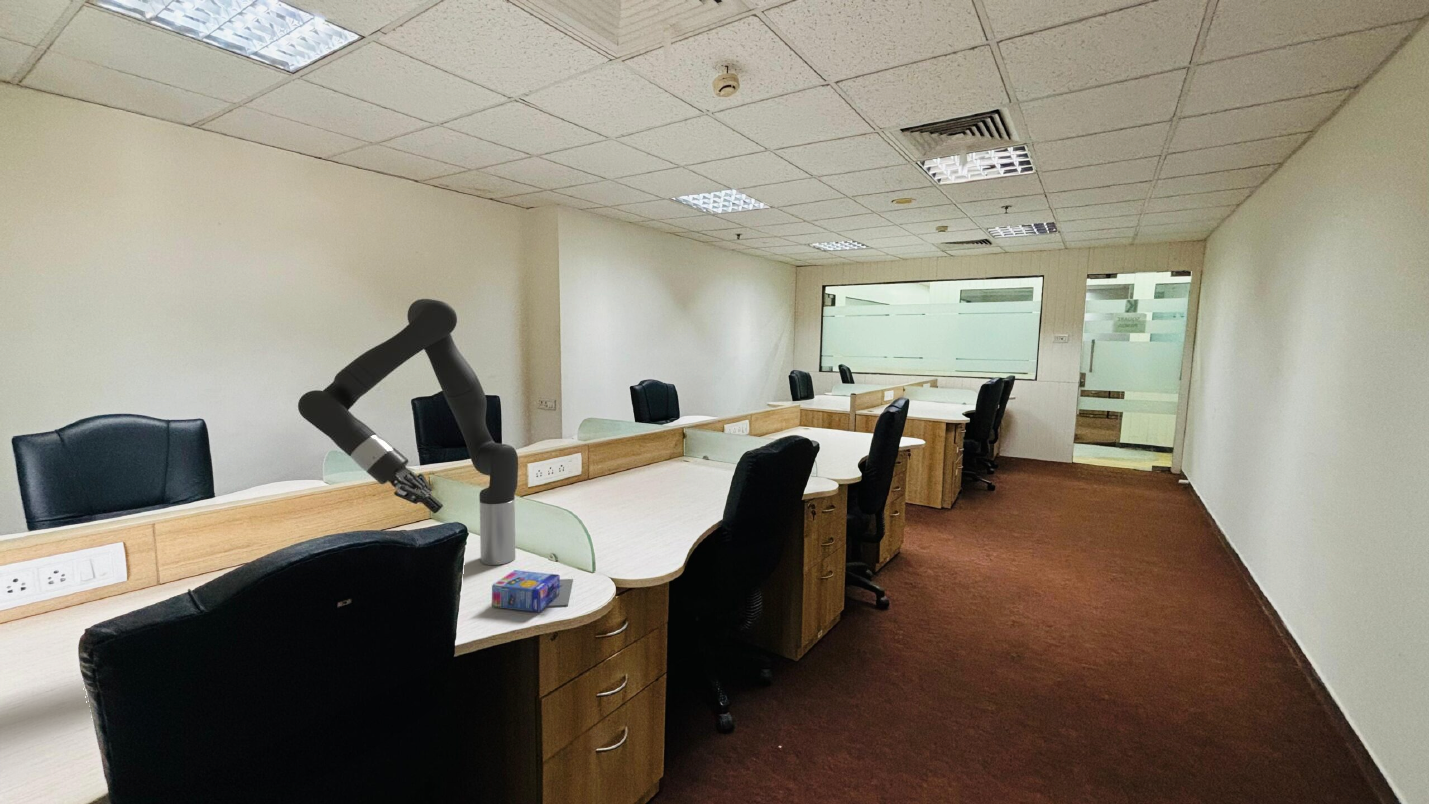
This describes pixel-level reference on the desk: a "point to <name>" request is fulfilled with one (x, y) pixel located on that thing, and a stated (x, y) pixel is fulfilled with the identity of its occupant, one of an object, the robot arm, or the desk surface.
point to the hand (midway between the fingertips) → (439, 509)
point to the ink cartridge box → (525, 590)
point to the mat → (562, 594)
